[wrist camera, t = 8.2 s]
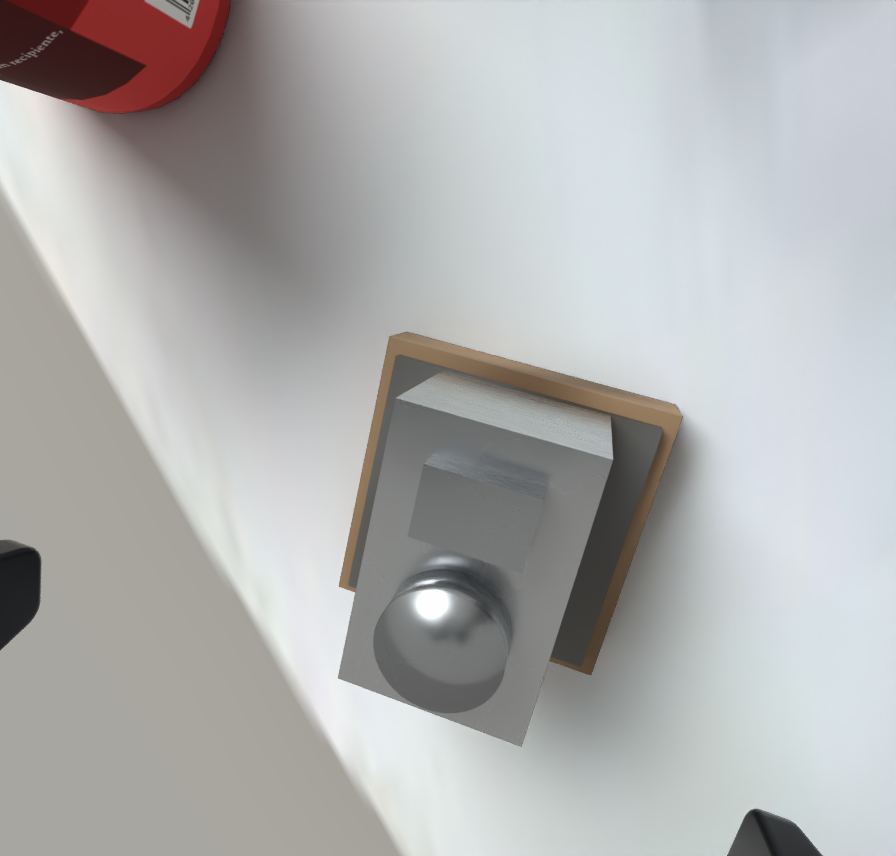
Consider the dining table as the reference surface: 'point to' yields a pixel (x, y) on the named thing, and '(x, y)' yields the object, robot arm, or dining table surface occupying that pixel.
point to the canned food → (109, 49)
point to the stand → (623, 499)
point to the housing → (474, 549)
